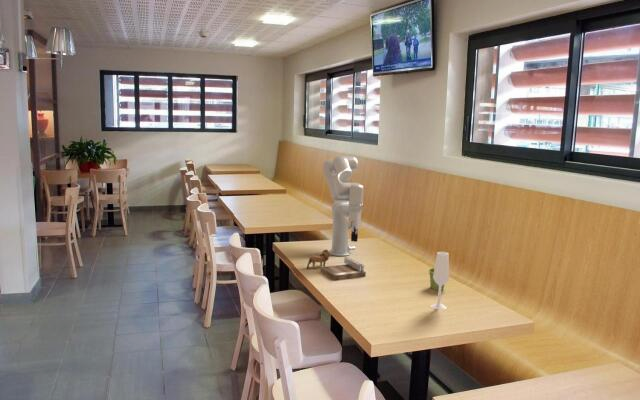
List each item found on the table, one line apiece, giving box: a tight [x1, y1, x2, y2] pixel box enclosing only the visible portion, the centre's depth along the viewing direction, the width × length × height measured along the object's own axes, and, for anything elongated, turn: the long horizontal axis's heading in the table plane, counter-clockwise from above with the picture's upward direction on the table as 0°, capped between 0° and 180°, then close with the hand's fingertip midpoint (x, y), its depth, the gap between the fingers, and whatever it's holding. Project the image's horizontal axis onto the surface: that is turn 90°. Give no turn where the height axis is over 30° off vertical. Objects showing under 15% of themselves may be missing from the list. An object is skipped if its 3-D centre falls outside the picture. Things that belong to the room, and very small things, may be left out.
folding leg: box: [343, 256, 365, 271], centre depth 265 cm, size 16×2×3 cm, turn 27°
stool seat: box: [320, 264, 367, 281], centre depth 261 cm, size 18×15×2 cm
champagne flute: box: [430, 251, 450, 311], centre depth 218 cm, size 7×7×24 cm
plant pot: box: [428, 267, 445, 291], centre depth 244 cm, size 9×9×9 cm
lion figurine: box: [306, 249, 330, 270], centre depth 271 cm, size 15×5×9 cm, turn 130°
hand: (354, 241), depth 275 cm, fingers closed
